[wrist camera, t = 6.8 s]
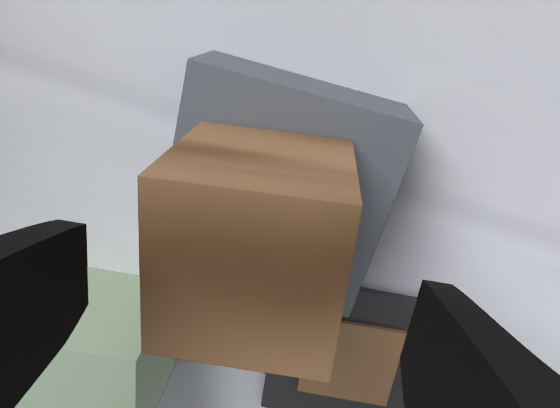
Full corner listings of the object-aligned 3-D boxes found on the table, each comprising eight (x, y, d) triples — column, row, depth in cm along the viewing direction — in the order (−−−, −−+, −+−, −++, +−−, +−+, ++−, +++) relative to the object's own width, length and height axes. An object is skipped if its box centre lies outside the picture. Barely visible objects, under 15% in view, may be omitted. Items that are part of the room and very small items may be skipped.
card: (409, 427, 22) (411, 436, 21) (261, 401, 22) (260, 409, 22) (450, 303, 19) (453, 310, 19) (281, 274, 19) (280, 280, 19)
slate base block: (345, 266, 19) (348, 317, 16) (182, 221, 19) (153, 263, 16) (405, 102, 17) (423, 124, 13) (215, 49, 17) (187, 58, 13)
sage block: (175, 363, 22) (134, 456, 17) (82, 346, 22) (17, 434, 17) (180, 281, 20) (135, 361, 15) (79, 264, 20) (5, 338, 16)
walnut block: (330, 271, 15) (329, 382, 11) (197, 252, 16) (141, 353, 11) (352, 139, 14) (362, 206, 9) (201, 120, 14) (138, 176, 9)
